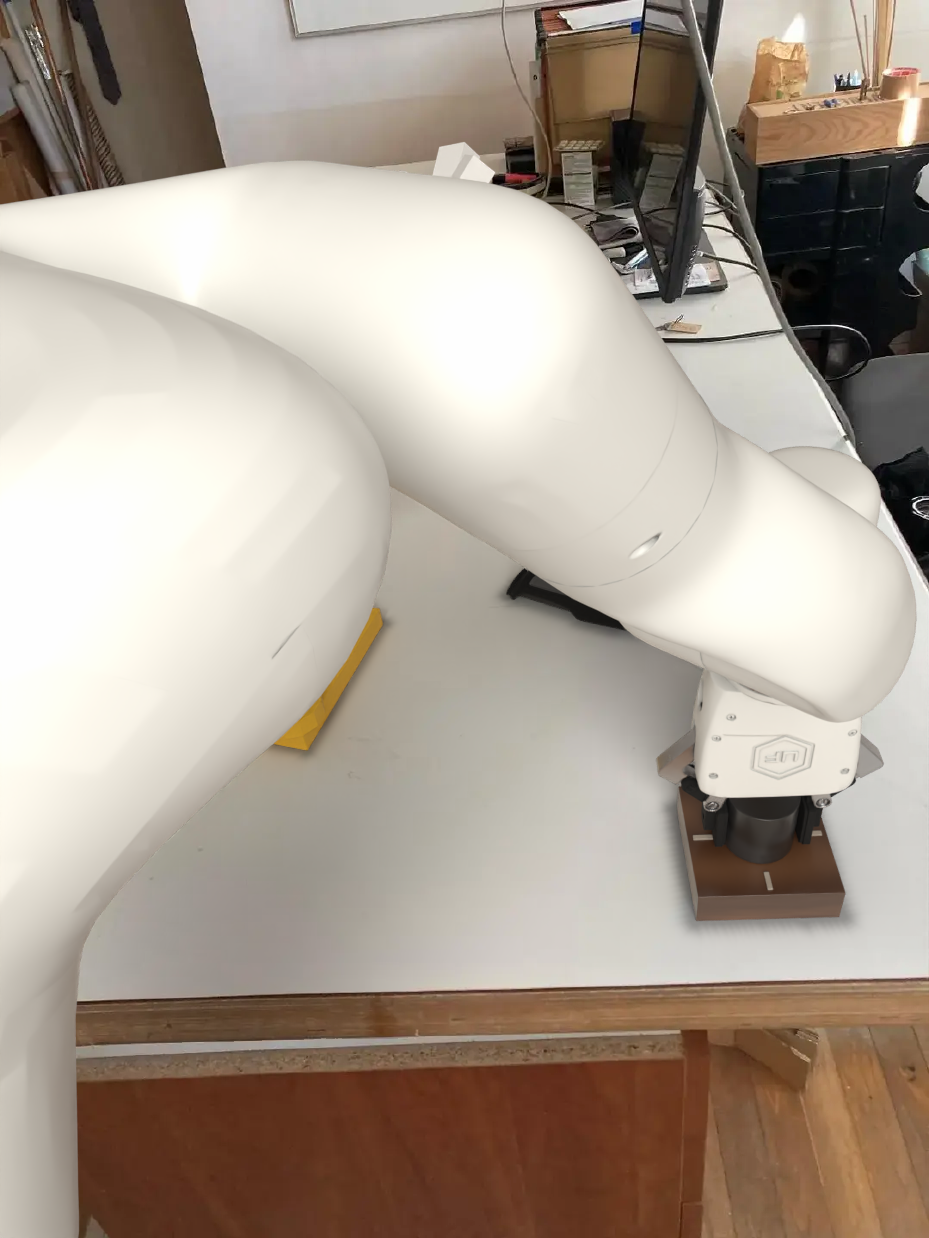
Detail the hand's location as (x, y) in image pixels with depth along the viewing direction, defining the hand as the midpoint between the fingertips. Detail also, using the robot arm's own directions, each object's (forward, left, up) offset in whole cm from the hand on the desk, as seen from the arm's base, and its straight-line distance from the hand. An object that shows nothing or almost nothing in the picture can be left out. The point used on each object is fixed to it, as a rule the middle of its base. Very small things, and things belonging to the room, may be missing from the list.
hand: (758, 827), depth 68 cm
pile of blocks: (+91, +59, -4) cm, 109 cm away
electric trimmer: (+26, +20, -4) cm, 33 cm away
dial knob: (0, 0, -1) cm, 1 cm away
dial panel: (0, 0, -4) cm, 4 cm away
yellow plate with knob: (+11, +45, -4) cm, 47 cm away
